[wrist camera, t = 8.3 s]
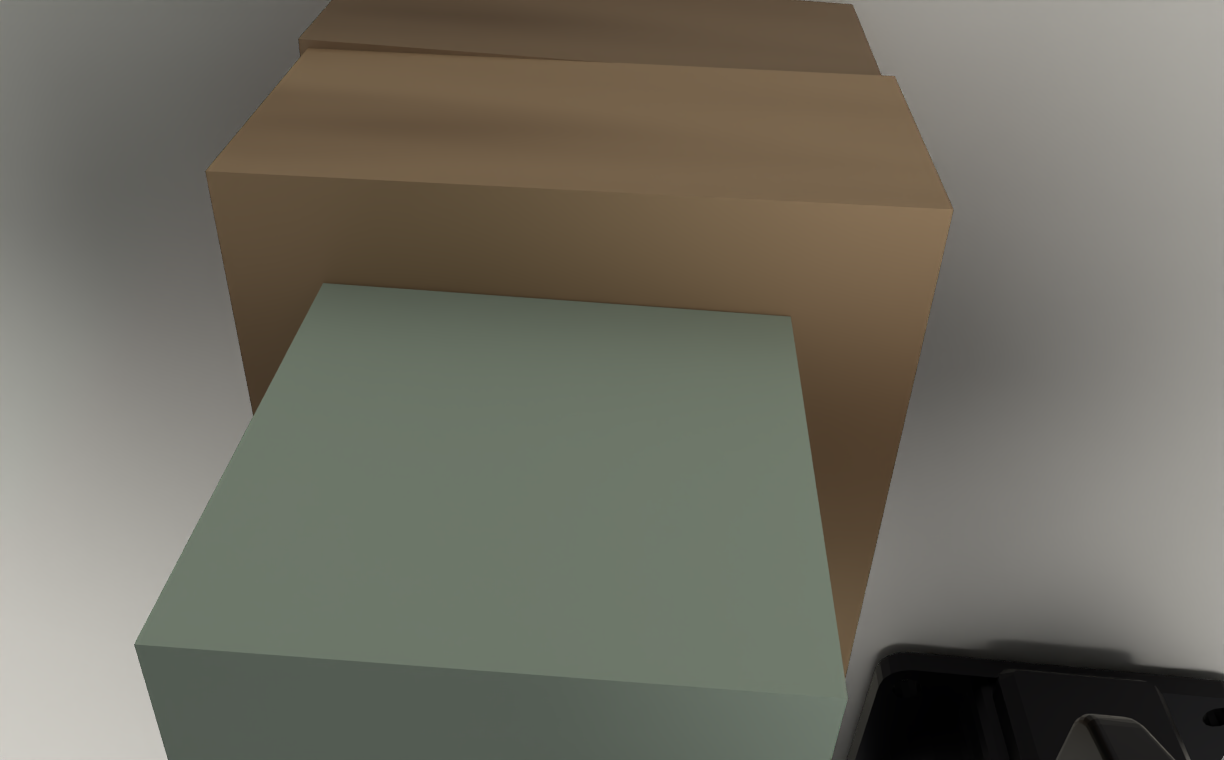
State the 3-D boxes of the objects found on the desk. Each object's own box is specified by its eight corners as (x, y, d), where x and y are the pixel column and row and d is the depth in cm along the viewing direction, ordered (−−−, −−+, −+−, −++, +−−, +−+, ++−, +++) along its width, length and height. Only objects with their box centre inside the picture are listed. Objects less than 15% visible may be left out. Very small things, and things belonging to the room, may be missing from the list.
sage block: (736, 635, 12) (757, 1037, 8) (359, 608, 12) (236, 994, 9) (790, 316, 9) (847, 698, 6) (322, 282, 9) (133, 644, 6)
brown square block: (813, 517, 15) (839, 700, 12) (365, 490, 15) (302, 666, 12) (894, 75, 11) (953, 208, 9) (308, 48, 11) (205, 170, 9)
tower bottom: (778, 387, 17) (794, 519, 15) (393, 357, 17) (345, 483, 15) (849, -4, 14) (885, 83, 11) (366, -41, 14) (298, 38, 11)
